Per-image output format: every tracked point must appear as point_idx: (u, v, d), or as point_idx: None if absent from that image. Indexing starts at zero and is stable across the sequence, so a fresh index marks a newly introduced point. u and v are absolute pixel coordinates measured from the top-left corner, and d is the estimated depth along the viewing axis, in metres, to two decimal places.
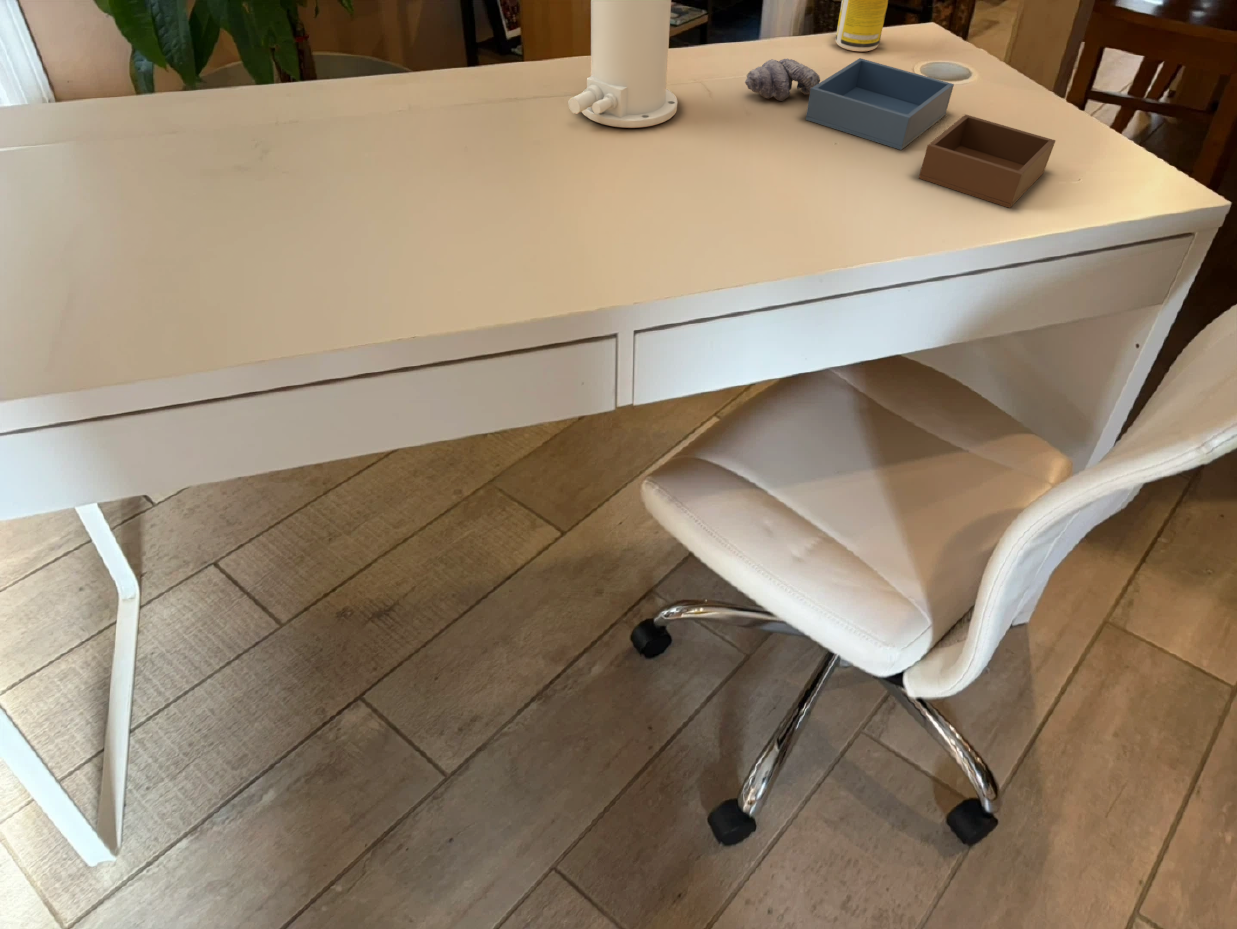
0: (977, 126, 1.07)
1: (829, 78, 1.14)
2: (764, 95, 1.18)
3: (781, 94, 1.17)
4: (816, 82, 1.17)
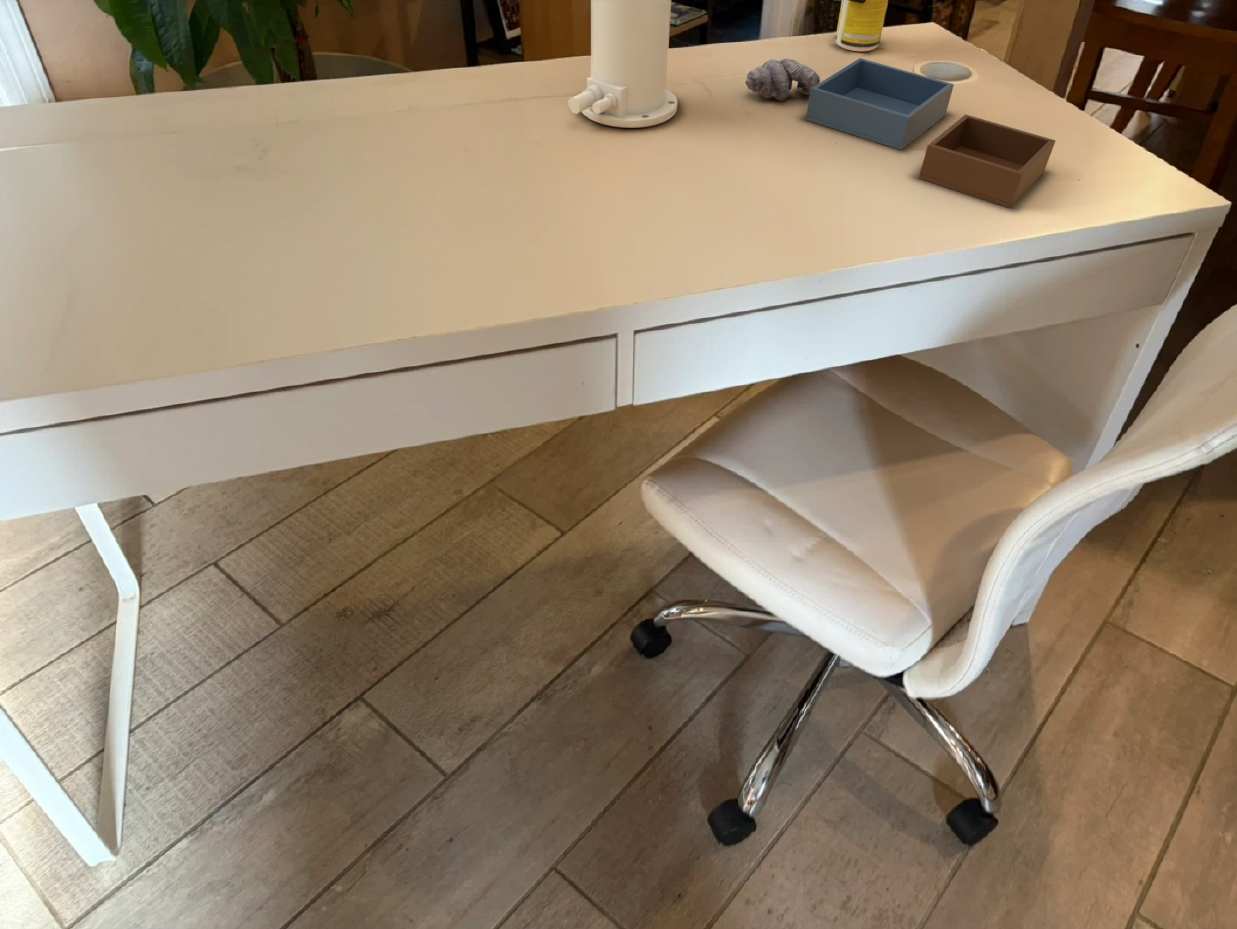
0: (977, 126, 1.07)
1: (829, 78, 1.14)
2: (764, 95, 1.18)
3: (781, 94, 1.17)
4: (816, 82, 1.17)
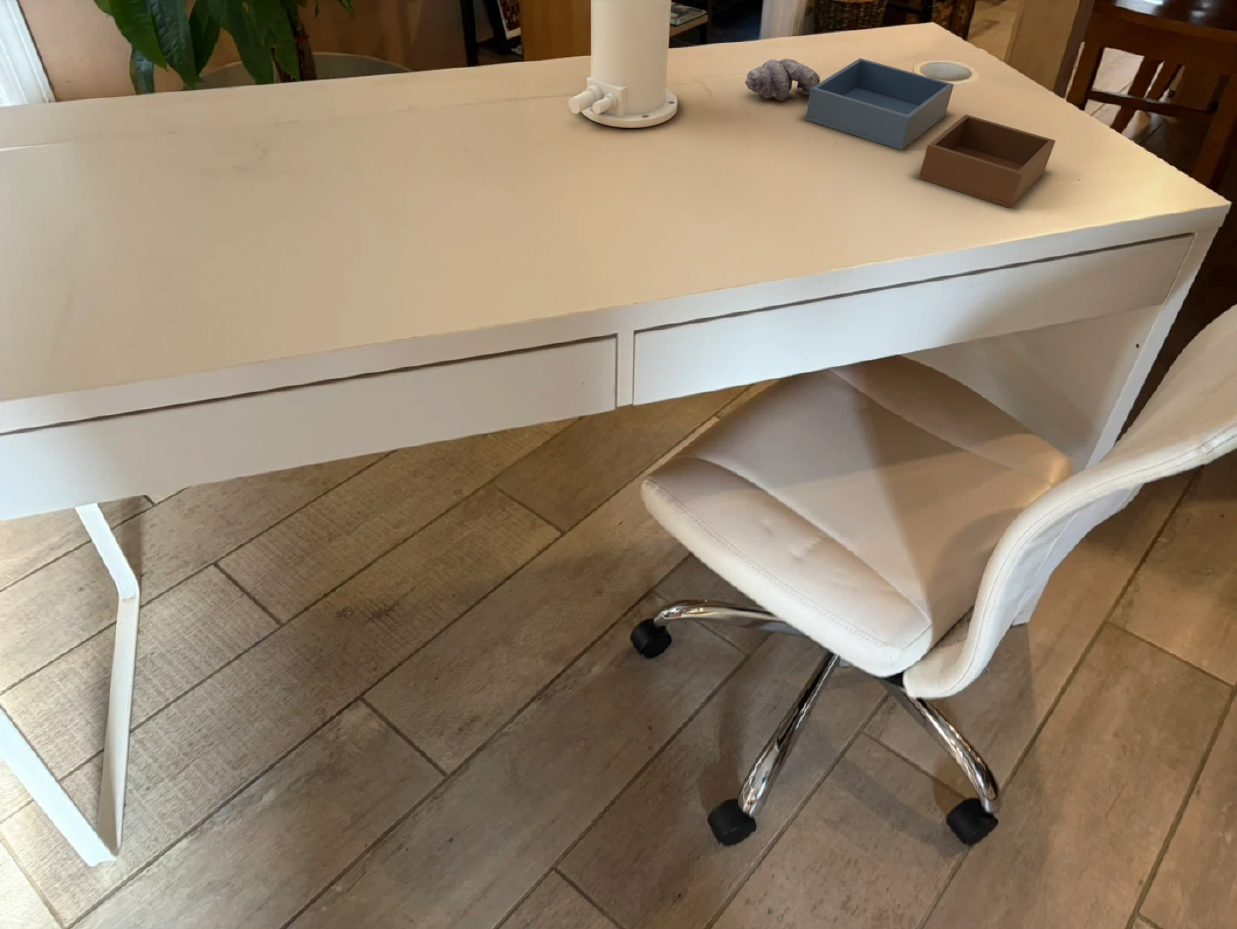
0: (977, 126, 1.07)
1: (829, 78, 1.14)
2: (764, 95, 1.18)
3: (781, 94, 1.17)
4: (816, 82, 1.17)
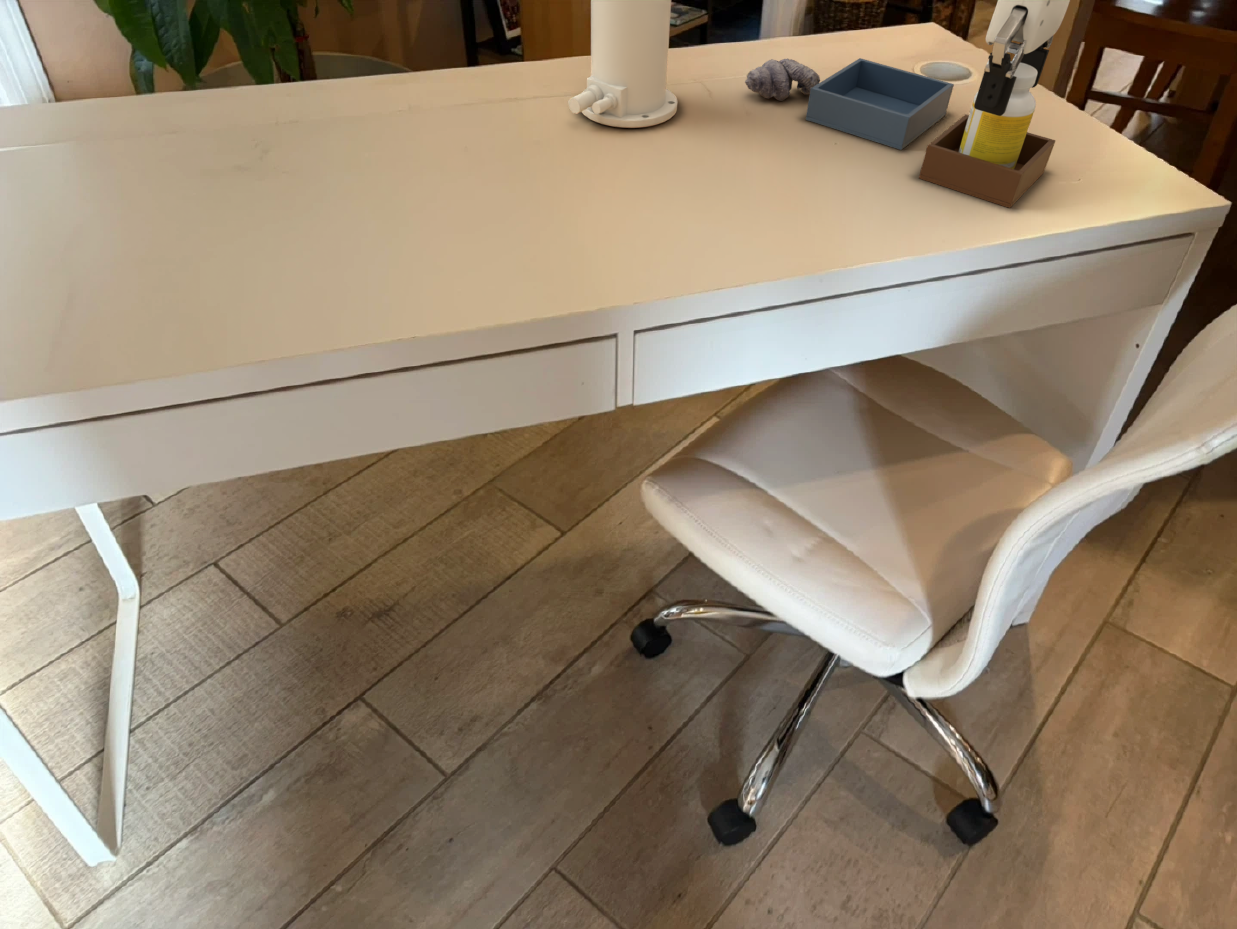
0: None
1: (829, 78, 1.14)
2: (764, 95, 1.18)
3: (781, 94, 1.17)
4: (816, 82, 1.17)
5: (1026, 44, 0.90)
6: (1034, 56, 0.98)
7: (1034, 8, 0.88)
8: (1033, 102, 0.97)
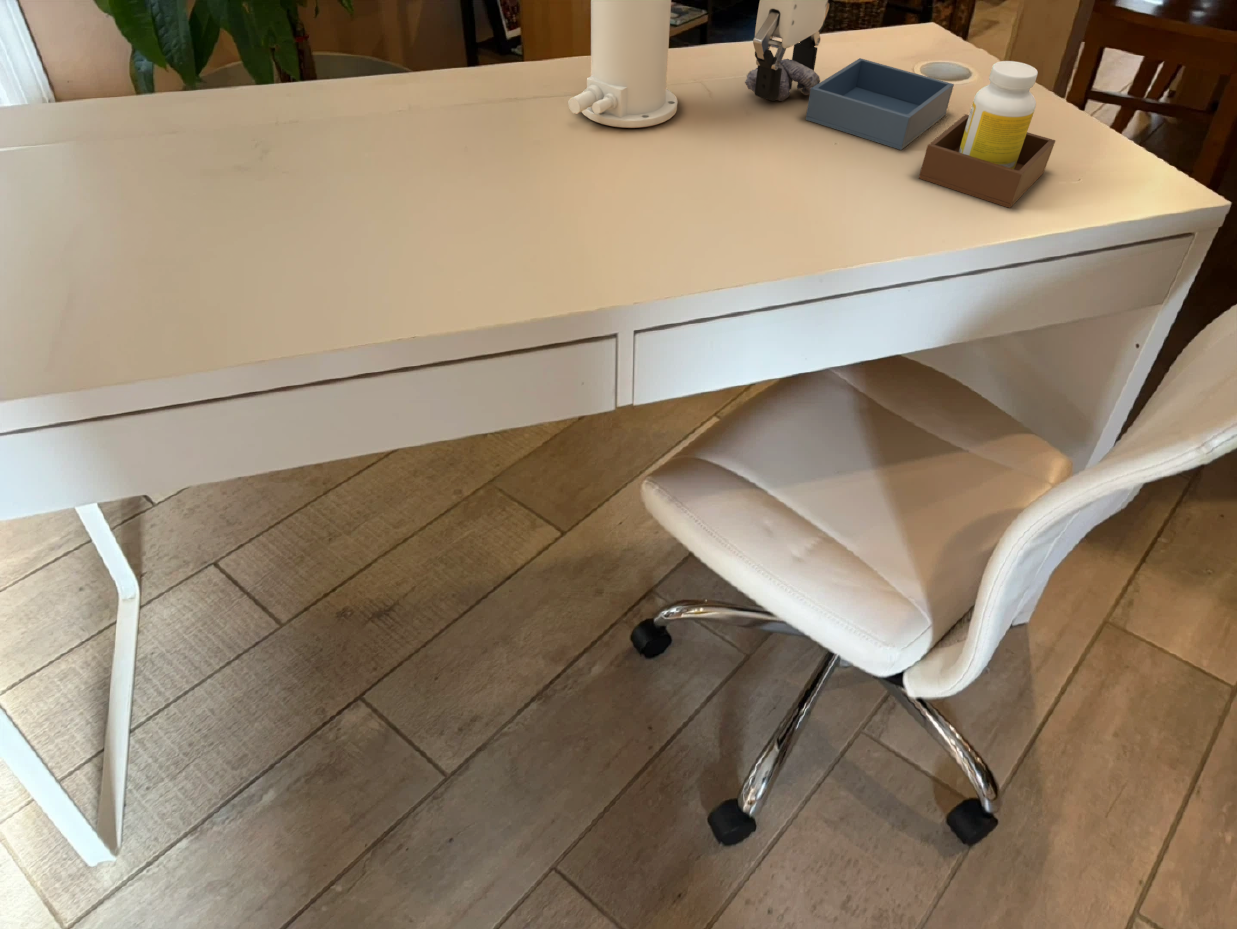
0: None
1: (829, 78, 1.14)
2: None
3: (781, 94, 1.17)
4: (816, 82, 1.17)
5: (783, 42, 1.10)
6: (806, 53, 1.19)
7: (784, 11, 1.08)
8: (1033, 102, 0.97)
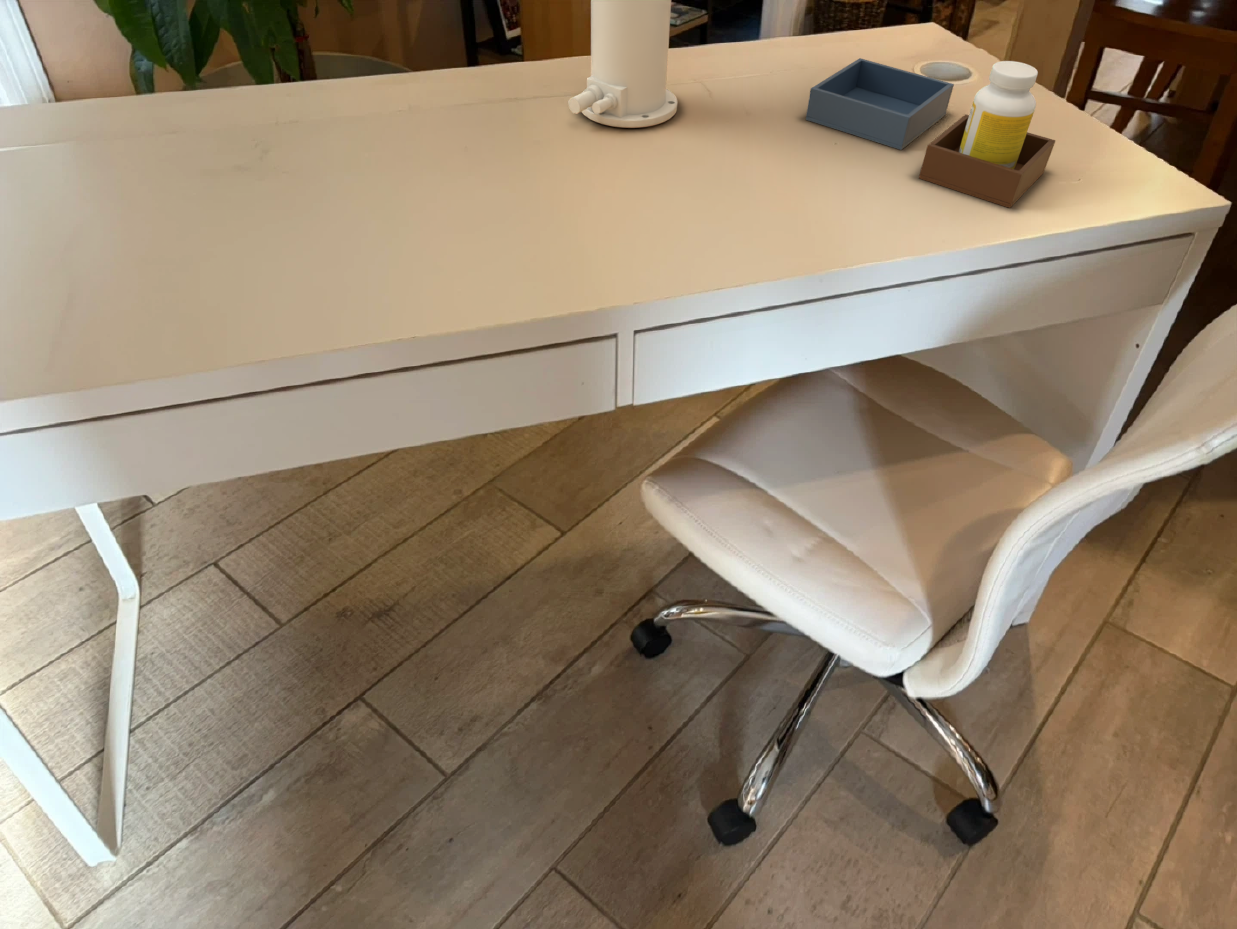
0: None
1: (829, 78, 1.14)
2: None
3: None
4: None
5: None
6: None
7: None
8: (1033, 102, 0.97)
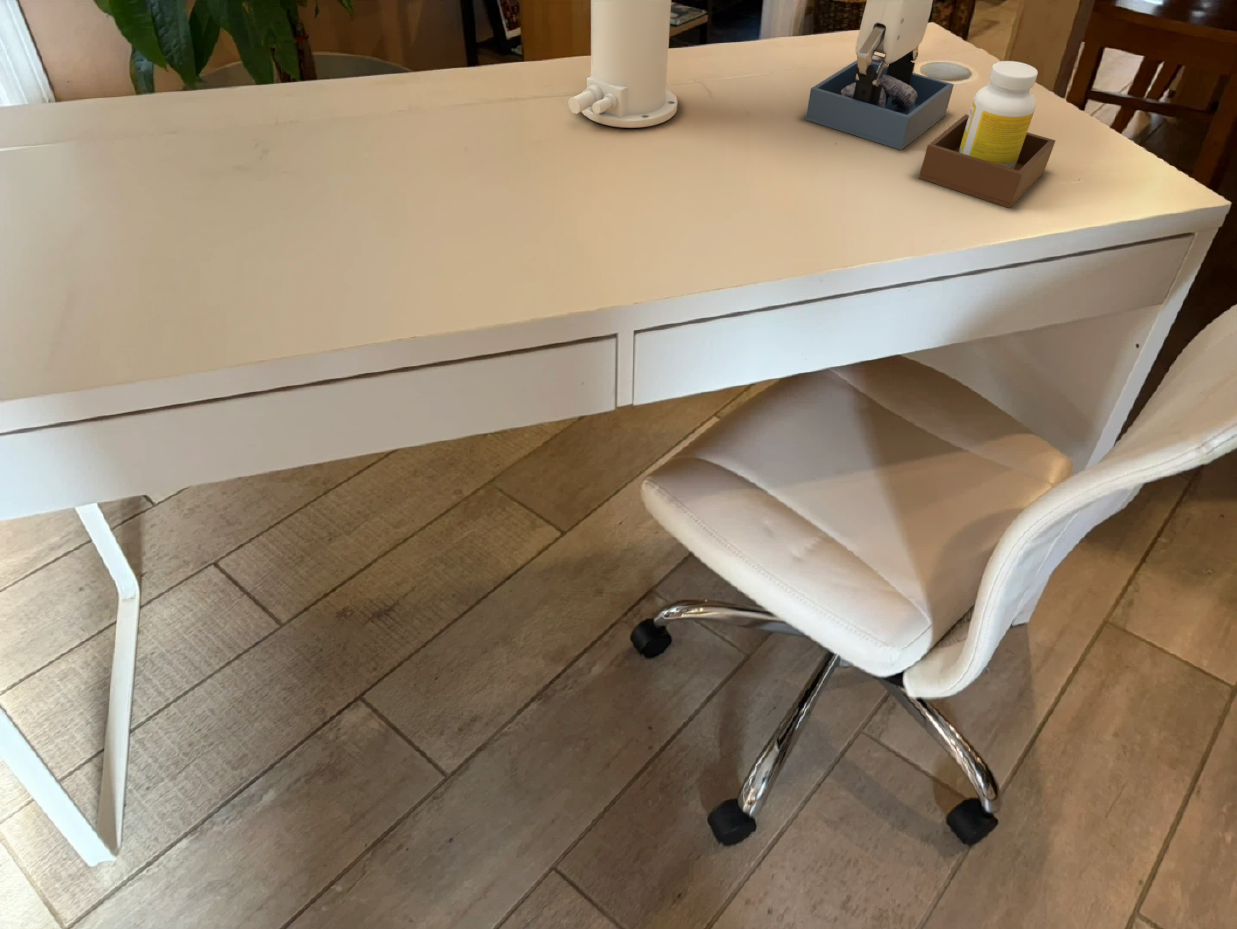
0: None
1: (829, 78, 1.14)
2: None
3: None
4: (914, 99, 1.13)
5: (887, 57, 1.06)
6: (903, 68, 1.14)
7: (890, 25, 1.03)
8: (1033, 102, 0.97)
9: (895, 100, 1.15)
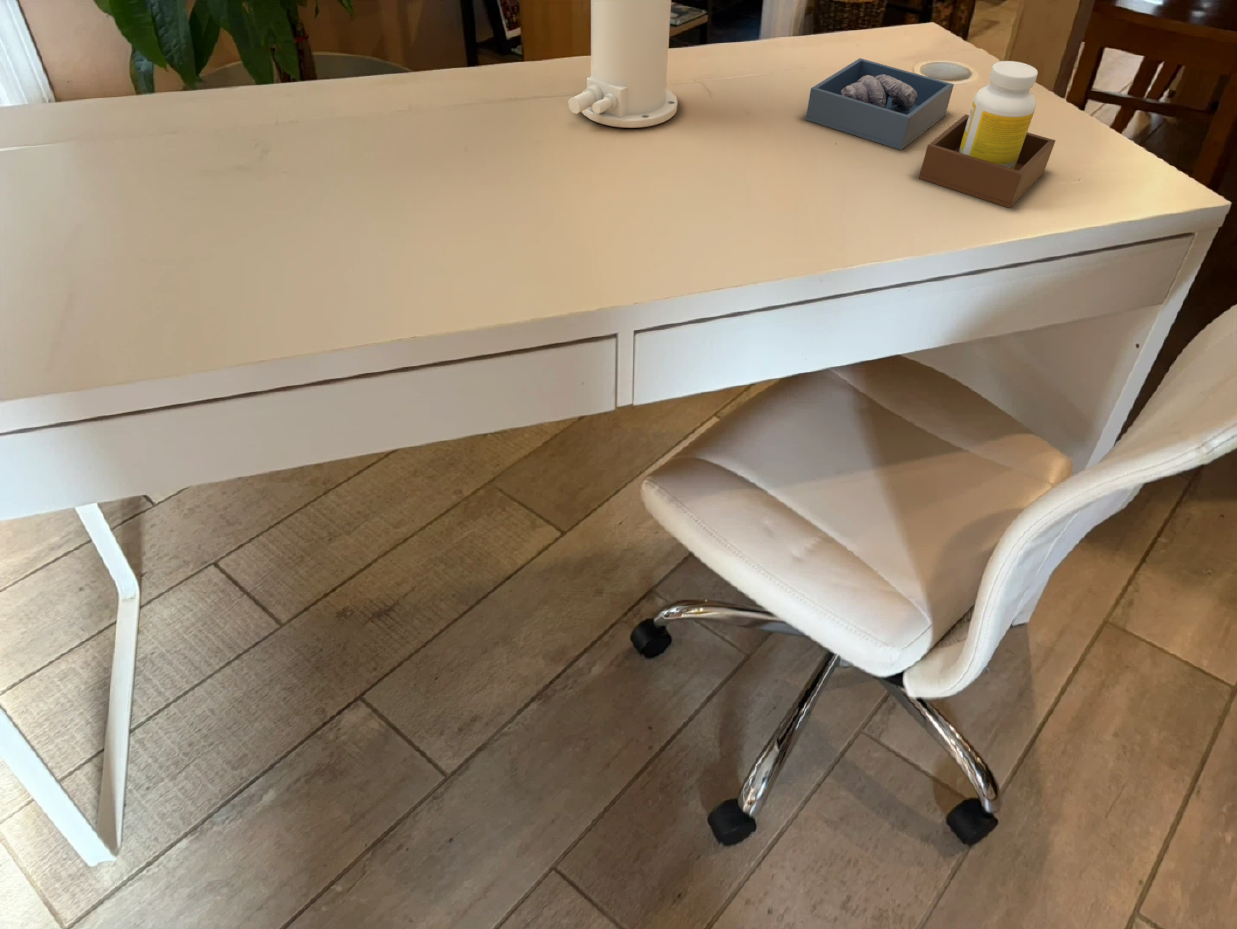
0: None
1: (829, 78, 1.14)
2: None
3: None
4: (914, 99, 1.13)
5: None
6: None
7: None
8: (1033, 102, 0.97)
9: (895, 100, 1.15)
